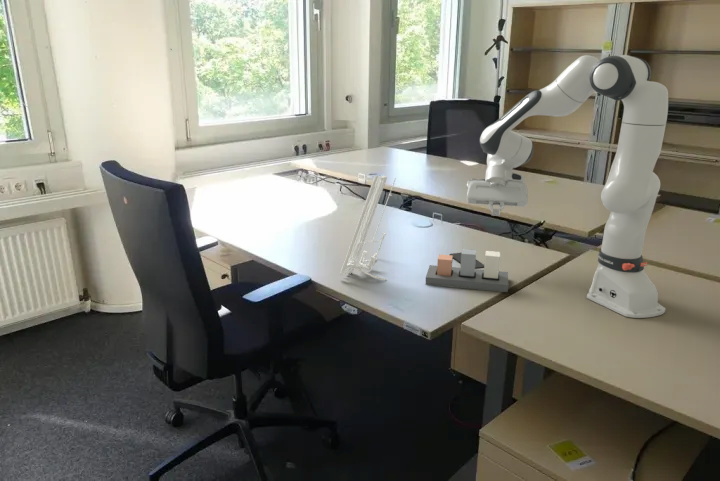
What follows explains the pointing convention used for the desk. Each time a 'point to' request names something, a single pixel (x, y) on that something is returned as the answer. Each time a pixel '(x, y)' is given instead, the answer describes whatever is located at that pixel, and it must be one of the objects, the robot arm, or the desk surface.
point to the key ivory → (491, 264)
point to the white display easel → (365, 231)
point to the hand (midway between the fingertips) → (495, 214)
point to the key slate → (468, 262)
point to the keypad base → (468, 280)
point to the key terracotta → (444, 265)
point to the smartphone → (458, 258)
